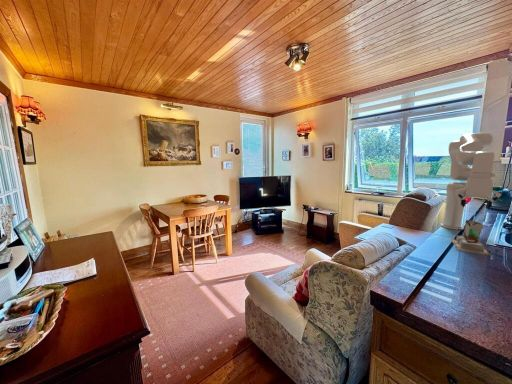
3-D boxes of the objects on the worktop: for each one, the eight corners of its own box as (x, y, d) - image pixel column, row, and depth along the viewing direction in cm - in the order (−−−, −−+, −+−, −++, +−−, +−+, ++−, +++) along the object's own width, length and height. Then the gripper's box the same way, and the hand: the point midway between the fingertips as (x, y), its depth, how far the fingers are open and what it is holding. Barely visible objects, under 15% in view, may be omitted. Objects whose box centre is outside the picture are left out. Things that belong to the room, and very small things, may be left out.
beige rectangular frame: (451, 240, 131) (452, 234, 131) (479, 244, 125) (480, 238, 124) (457, 250, 118) (458, 242, 118) (488, 255, 112) (490, 247, 111)
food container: (483, 245, 114) (487, 227, 112) (467, 243, 117) (470, 225, 116) (478, 238, 124) (481, 221, 122) (463, 236, 127) (465, 219, 126)
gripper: (501, 176, 114) (495, 208, 117) (457, 174, 123) (452, 204, 126) (507, 177, 108) (500, 211, 111) (460, 175, 117) (455, 207, 120)
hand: (475, 207), depth 118 cm, fingers open, 9 cm apart
